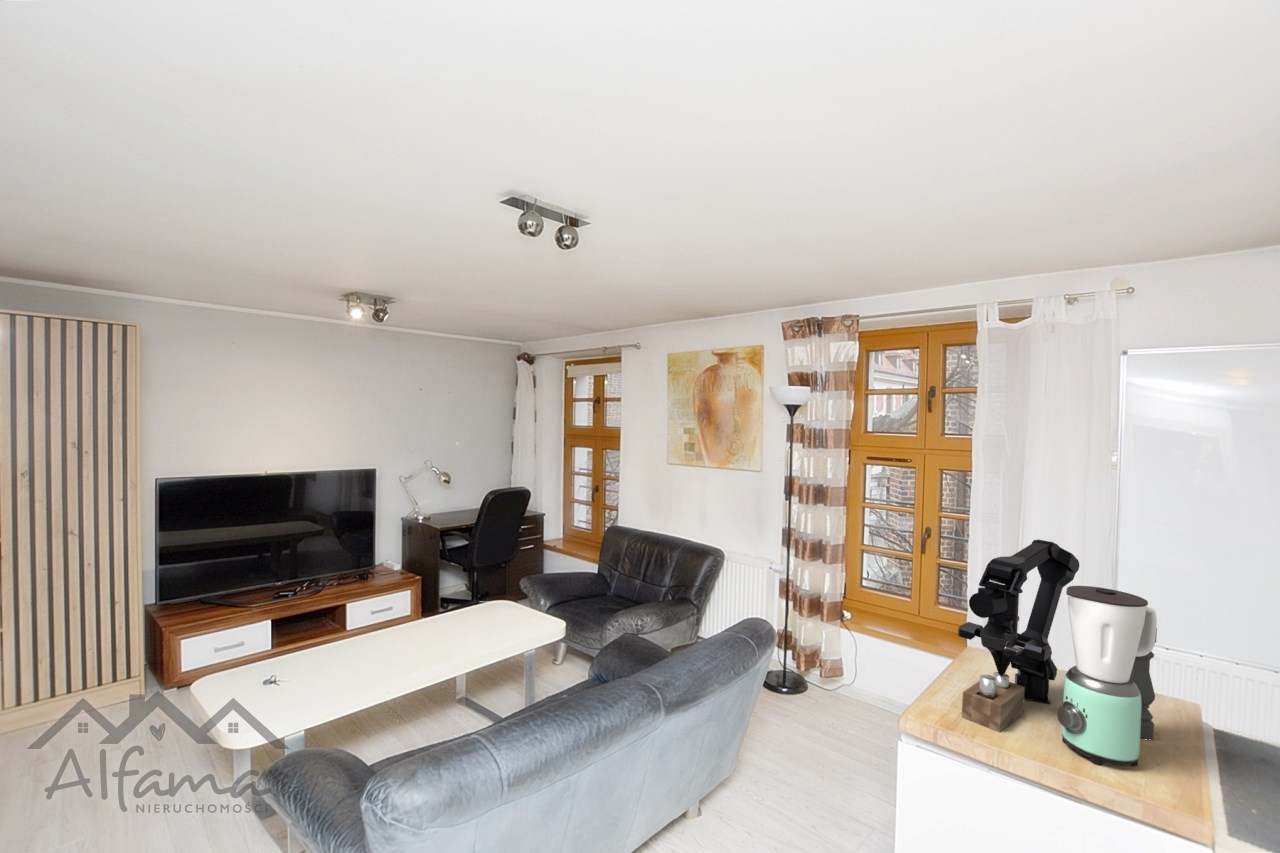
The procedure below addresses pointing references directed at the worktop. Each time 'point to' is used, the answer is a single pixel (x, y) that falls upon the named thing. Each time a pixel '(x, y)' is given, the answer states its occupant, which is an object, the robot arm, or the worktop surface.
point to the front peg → (987, 686)
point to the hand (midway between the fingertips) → (1001, 674)
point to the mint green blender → (1105, 673)
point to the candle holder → (1144, 692)
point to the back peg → (1002, 680)
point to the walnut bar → (993, 706)
